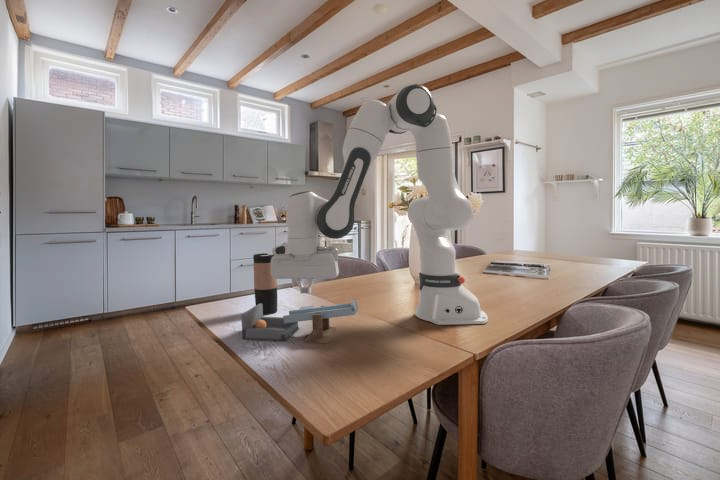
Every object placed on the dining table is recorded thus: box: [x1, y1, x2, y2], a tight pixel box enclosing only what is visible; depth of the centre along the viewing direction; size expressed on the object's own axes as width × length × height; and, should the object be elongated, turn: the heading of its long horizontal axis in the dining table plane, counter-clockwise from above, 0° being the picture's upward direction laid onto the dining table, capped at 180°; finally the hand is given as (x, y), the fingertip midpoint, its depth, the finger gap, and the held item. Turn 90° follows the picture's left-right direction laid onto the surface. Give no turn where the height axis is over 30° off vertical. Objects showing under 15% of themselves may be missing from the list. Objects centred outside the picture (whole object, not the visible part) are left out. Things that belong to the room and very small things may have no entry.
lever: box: [282, 299, 359, 323], centre depth 100 cm, size 20×12×3 cm, turn 80°
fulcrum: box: [305, 305, 337, 344], centre depth 96 cm, size 6×10×7 cm, turn 171°
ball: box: [255, 320, 266, 328], centre depth 99 cm, size 3×3×3 cm
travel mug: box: [252, 252, 278, 316], centre depth 119 cm, size 8×8×20 cm
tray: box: [240, 304, 299, 342], centre depth 99 cm, size 12×11×7 cm
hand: (305, 293), depth 104 cm, fingers closed
